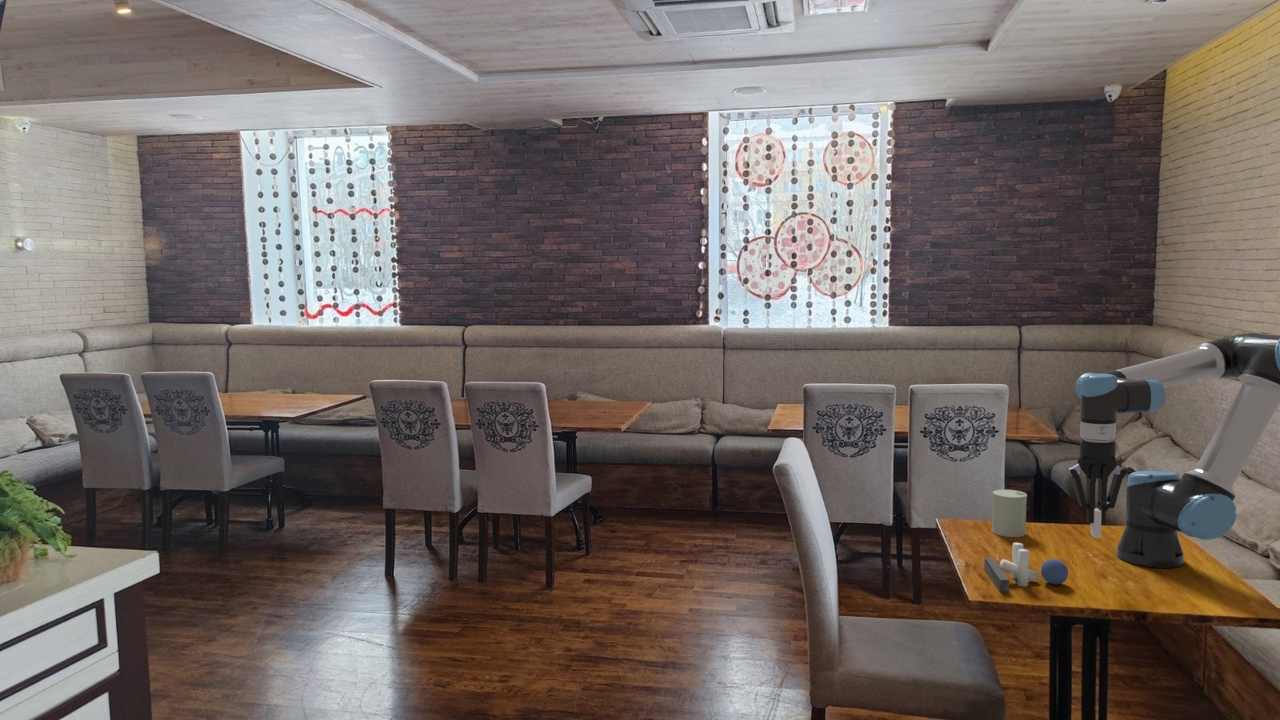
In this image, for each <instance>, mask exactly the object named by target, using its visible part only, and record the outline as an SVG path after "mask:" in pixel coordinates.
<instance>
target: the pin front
mask: <svg viewBox="0 0 1280 720" xmlns="http://www.w3.org/2000/svg"><path fill="white" fill-rule="evenodd" d="M999 567H1000V569H1001V570H1002V571H1005V572H1008V573H1010V574H1012V573H1013V574H1015V575H1017V573H1018V565H1017V564H1014V563H1012V561H1009V560H1007V559H1004V558H1003V559H1001V560H1000V563H999ZM1038 578H1039V572H1037V571H1034V570H1031V569H1029V570H1028V581H1031V582H1032V583H1036V582H1037V579H1038Z"/></svg>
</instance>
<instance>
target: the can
mask: <svg viewBox="0 0 1280 720" xmlns="http://www.w3.org/2000/svg"><path fill="white" fill-rule="evenodd" d="M1027 498H1028V494H1027V493H1026V492H1024V491H1020V490H1015V489H996V490H994V491H992V518H991V519H992V520H991V521H992V524H991V532H992V534H995V535H997V536H1000V537H1007V538H1022V537H1025V536H1026V535H1027V530H1026V529H1027V528H1026V526H1027V525H1026V523H1027ZM1024 535H1025V536H1024ZM1021 536H1022V537H1021Z"/></svg>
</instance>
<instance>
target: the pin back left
mask: <svg viewBox="0 0 1280 720" xmlns="http://www.w3.org/2000/svg"><path fill="white" fill-rule="evenodd" d="M1029 565H1030V550H1029V549H1025V548H1023V549H1019V550H1018V573H1017V579H1016V585H1017V586H1019V587H1022V586H1023V587H1022V588H1026V586H1027V587H1028V586H1029V580H1028V570H1030V569H1029V568H1030V567H1029Z"/></svg>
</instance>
